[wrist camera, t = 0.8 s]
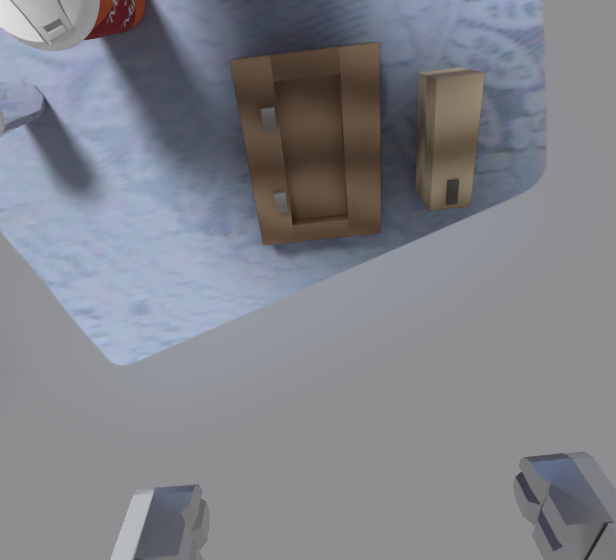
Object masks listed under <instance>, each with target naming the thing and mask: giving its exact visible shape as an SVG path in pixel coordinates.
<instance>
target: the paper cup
mask: <svg viewBox="0 0 616 560" xmlns="http://www.w3.org/2000/svg"><path fill="white" fill-rule="evenodd" d="M145 6H146V0H0V28H2V29H3V30H5V31H6V32H7V33H8V34H10V35H11V36H13V37H14V38H16V39H17V40H19V41H21V42H23V43H25V44H27V45H29V46H32V47H35V48H38V49H42V50H48V51H59V50H65V49H69V48H71V47H74V46H76V45H77V44H79V43H80V42H82V41H83V40H89V39H95V38H99V37H103V36H108V35H112V34H116V33H121V32H124V31H127V30H130V29H132V28H134V27H135V26H136V25H137V24H138V23H139V22H140V21H141V19H142V17H143V15H144V12H145Z"/></svg>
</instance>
